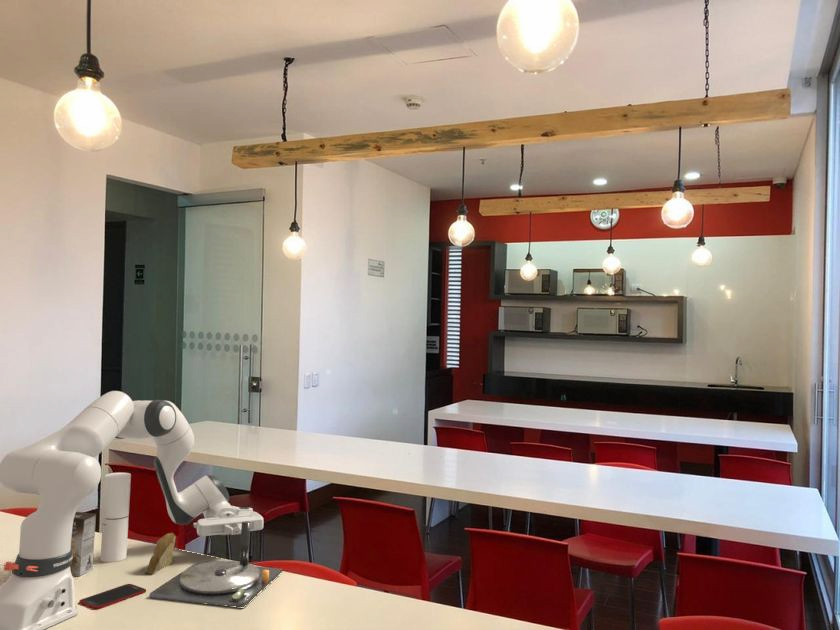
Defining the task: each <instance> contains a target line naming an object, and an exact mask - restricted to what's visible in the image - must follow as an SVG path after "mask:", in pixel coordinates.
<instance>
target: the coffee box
mask: <svg viewBox="0 0 840 630" xmlns="http://www.w3.org/2000/svg"><path fill="white" fill-rule="evenodd" d="M96 517H97V513H94V512H93V513H91V512H82V511H76V513H75V516H74V520H73V527H72V538H71V549H72V555H73V558H72V564H71V566H70V570H71V574H72V577H81V576H83V575H85V574H86V573H88V572H90V571H91V570H93V565H94V552H95V551H94V550H95V537H96V536H95V535H96V521H97V518H96Z"/></svg>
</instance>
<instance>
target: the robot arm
mask: <svg viewBox="0 0 840 630" xmlns="http://www.w3.org/2000/svg"><path fill="white" fill-rule="evenodd" d="M149 438H152V440H153V441H154V443H155V444H156V448H157V450H156V451H157V452H156V456H155V458H154V460H153V465H154V469H155V472H156V473H155V474H156V476H157V480H158V483H159V486H160V488H161V491H162V494H163V498H164V501H165V505H166V509H167V514H168V516H169V517H170V519H171V521H172V522H173V523H174V524H175V525H188V524H190V523H191V522H192V521H193V520H195V519H196V518H197V517H198V516H199V515H201V514H202V515H203V516H204V518H200V519H198V520H196V521H197V522H193V524H192V527H193V528H195V529H196V533H197V536H199V537H209V536H217V535H221V536H228V535H231V536H232V535H233V536H235V535H241V528H242V522H244V521H249V522H250V532H253V531H261V530H262V529H264V524H265V523H264V517H263V516H262V515H261V514H259V512H257V511H254V510H253V508H252V507H241V506H234V505H231V503H229V501H230V494H229V491H228V489H227V488H226V486H225V485H224V483H223V482H222V481H221V480H220V479H219V478H218V477H217V476H214V475H212V474H206V475H204V476H202V477H201V478H199V479H198V480H196V481H194V483H192V484H191V485H189V486H188V487H185V488H184V489H183V490H181V491H179V492H178V490H177V485H176V483H175V481H174V480H175V479H174V475H175V473H176V471H177V469H178V468H179V466H181V464H182V463H183V462H185V461H184V460H186V458H187V457H189V455H190V454H191V452H192V450H193V448H194V445H195V441H196V440H195V435H194V431H193V429H192V427H191V426H190V424H189V422H188V420H187V419H186V417H185V416H184V414H183V413H182V411H181V410H180V408H178V406H176V404H175V403H173V402H171V401H170V400H163V399H153V400H132V398H131V397H130V396H129V395H128V394H127V393H125V392H123V391H119V390H111V391H108V392H106V393H104V394H102V395H101V396H100V397H97V399H95V400H93V401H92V402H91V403H90V404H89V405H88V406H86V407H85V408H83V410H82V411H80V412H79V414H78V415H76V417H74V418H73V419H72V420H71V421H70V422H68V423H67V424H66V425H65V426H64V427H62V428H61V429H59V430H57V431H56V432H53V433H52V434H50V435H48V436H46V437H45V438H42V439H41V440H39V441H37V442H35V443H33V444H30V445H28V446H25V447H22V448H19V449H18V448H17V449H15V450H11V451H9V452H7V454H6V455H4V457H3V458H2V460H1V462H0V484H1V485H2V486H3V487H5V488H7V489H9V490H12V491H15V492H16V493H19V494H26V495H35V496H40V500H39V501H40V502H39V505H38V507H37V510H36V511H34V512H32V513H29V515H27V516H26V517H25V518H24V519H23V521H22V522H21V525H20V532H19V551H18V554H17V556H16V557H15V560H14V561H13V562H12V561H6V562H5V563H4V564H3V571H6V572H8V571H9V572H11V575H10V576H9V577H8V578H7V579H6V581H5V582H4V583H3V584H2V585H1V587H0V630H46V629H47V628H50V627H52V626H54V625H57V624H58V623H59V624H60V623H61V622H63V621H66V620H68V619H70V618H72V617H75V616H77V615H78V614H79V612H78V611H79V610H78V608H77V607H76V605H75V604H76V602H75V600H76V599H75V586H74V585H75V584H74V583H75V582H74V576H72V574H71V570H70V566H71V564H72V558H73V555H72V549H71V538H72V527H73V520H74V516H75V513H76V512H78V509H79V507H80V505H81V503H82V501H84V499H86V497H88V496H90V495H91V494H93V492H94V491H95V490H96V489H97V487H98V486H99V483H100V482H101V478H102V467H101V465H100V462H99V461H98V459H97V458H96V457H97V456H99V455H100V454H101V453H102V452H103V451H104V450H105V448H107V447H108V445H110V444H111V442H113V440H115V439H117V440H118V439H119V440H123V439H128V440H129V439H133V440H134V439H135V440H141V439H149Z"/></svg>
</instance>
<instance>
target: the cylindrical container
mask: <svg viewBox="0 0 840 630" xmlns="http://www.w3.org/2000/svg"><path fill="white" fill-rule="evenodd" d="M131 478H132V474H131V473H129V472H112V473H106V474H105V475H104V492H103V506H102V523H101V524H102V527H101V544H100V546H101V547H100V558H99V559H100V561H101V562H104V563H115V562H120V561H124V560H126V558H127V552H128V538H129V537H128V534H129V533H128V532H129V517H130V516H129V515H130V514H129V513H130V497H131Z"/></svg>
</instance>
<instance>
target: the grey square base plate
mask: <svg viewBox="0 0 840 630" xmlns="http://www.w3.org/2000/svg"><path fill="white" fill-rule="evenodd" d="M207 562H211V561H209V560H201V559H200V560H198V561H196V562H195V563H194V564H192V565H190V566H189V567H187V568H186V569H188V568H190V567H192V566H195V565H198V564H202V563H207ZM255 566H256V567H257V568H258V569H259V580H258V581H257V582H256V583H255V584H254V585H252V586H251V587H248V588H246V589H240V590H239V591H236V592H231V593H223V594H201V593H195V592H191V591H188V590H186V589H184V588H182V587H181V585H180V575H181V573H182V572H183V571H185V570H186V569H185V570H183V571H181V572H180V573H179V574H176V575H175V576H174V577H172V578H171V579H169V580H168V581H166V582H164V584H163V583H162V584H161V585H160V586H159V587H157V588H156V589H154V590H152V591H151V592H149V598H150V599H156V600H166V601H173V600H176V601H175V602H182V601H185V603H191V602H194V603H193V604H200V603H207V604H206V605H208V604H217V605H227V606H236V607H244V606H245V605H247V604H248V603H249V602H250V601H251V600H252V599H253V598H254V597H255V596H256V595H257V594H258V593H259V592H260V591H261V590H263V589H264V588H265V587H266V586H267V585H268V584H269V583H270V582H271V581H273V580H274V579H275V578H276V577H277V576H278V575H279V574H280V573H281V572H282V573H283V568H278V567H276V568H275V567H267V566H257V565H255ZM263 570H269V582H268V583H262V571H263ZM278 577H279V576H278ZM278 577H277V578H278ZM277 578H276V579H277ZM276 579H275V580H276ZM275 580H274V581H275ZM274 581H273V582H274ZM265 589H266V588H265ZM265 589H264V590H265ZM264 590H263V591H264ZM252 601H253V600H252ZM252 601H251V602H252ZM251 602H250V603H251ZM250 603H249V604H250ZM249 604H248V605H249ZM217 605H216V606H217ZM248 605H247V606H248Z"/></svg>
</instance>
